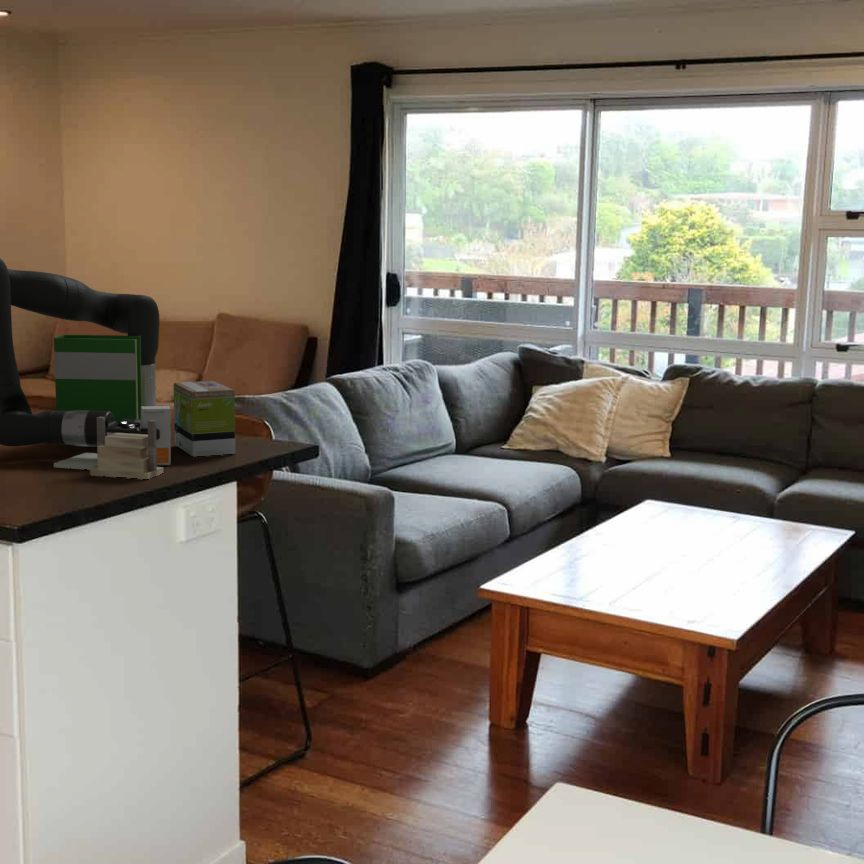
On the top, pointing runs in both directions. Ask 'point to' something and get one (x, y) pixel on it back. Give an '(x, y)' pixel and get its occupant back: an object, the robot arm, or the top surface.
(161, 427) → the skincare box
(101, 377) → the hardback book
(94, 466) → the sage mat
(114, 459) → the offcut rack
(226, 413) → the tea box
